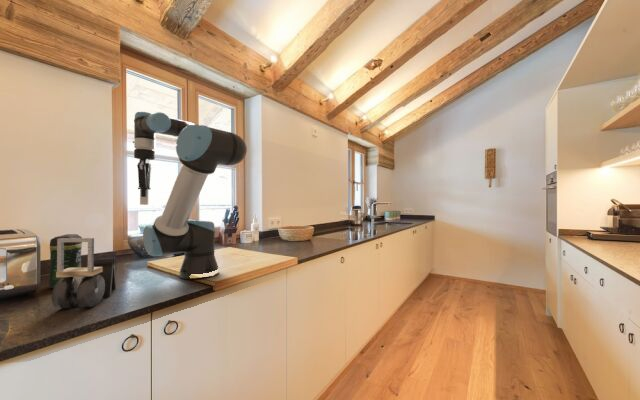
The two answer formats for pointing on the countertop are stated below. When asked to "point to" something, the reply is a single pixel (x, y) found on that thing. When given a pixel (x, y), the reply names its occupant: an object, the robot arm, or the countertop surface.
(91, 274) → the trolley deck
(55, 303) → the trolley
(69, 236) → the coffee jar
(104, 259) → the dark grey bin
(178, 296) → the countertop surface
